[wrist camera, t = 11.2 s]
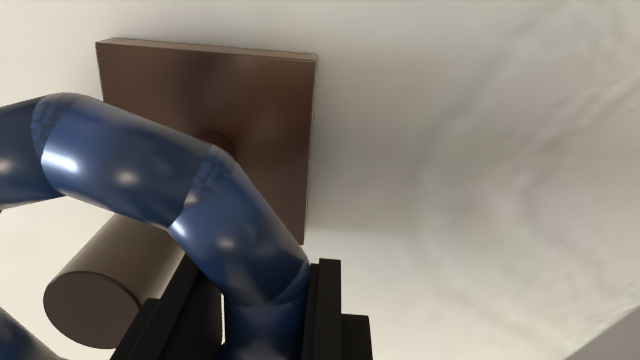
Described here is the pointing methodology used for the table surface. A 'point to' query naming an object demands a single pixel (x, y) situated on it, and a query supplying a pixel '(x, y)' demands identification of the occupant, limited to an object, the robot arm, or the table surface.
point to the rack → (201, 122)
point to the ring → (160, 212)
